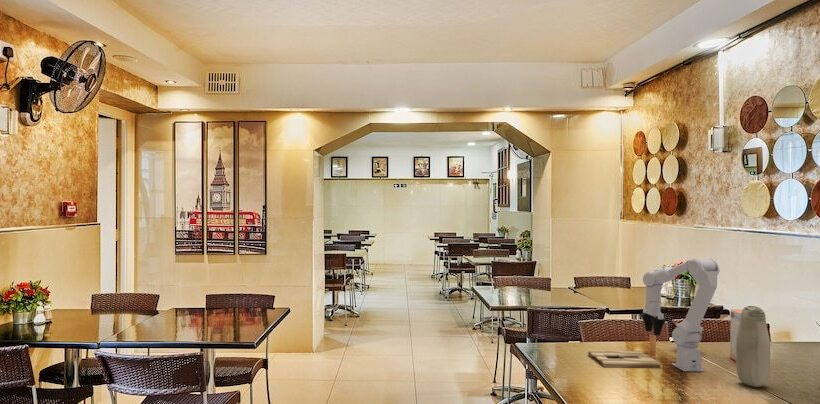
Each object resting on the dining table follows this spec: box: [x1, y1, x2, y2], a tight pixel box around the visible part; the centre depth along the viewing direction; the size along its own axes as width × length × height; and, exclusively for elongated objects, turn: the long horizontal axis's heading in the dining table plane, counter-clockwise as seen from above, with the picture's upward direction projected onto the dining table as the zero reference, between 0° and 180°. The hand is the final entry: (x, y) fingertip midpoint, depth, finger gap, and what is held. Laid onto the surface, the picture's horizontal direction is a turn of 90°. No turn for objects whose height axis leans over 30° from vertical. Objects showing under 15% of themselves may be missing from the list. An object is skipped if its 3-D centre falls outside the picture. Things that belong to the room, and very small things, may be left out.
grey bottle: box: [735, 305, 771, 388], centre depth 196 cm, size 10×10×28 cm
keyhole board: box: [587, 350, 661, 369], centre depth 225 cm, size 18×22×2 cm
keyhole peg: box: [646, 334, 660, 359], centre depth 233 cm, size 5×5×9 cm
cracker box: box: [729, 308, 743, 363], centre depth 226 cm, size 14×6×21 cm, turn 168°
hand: (652, 333), depth 233 cm, fingers open, 7 cm apart
